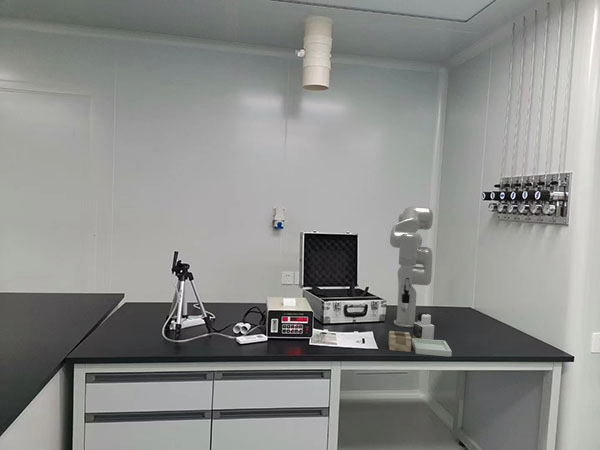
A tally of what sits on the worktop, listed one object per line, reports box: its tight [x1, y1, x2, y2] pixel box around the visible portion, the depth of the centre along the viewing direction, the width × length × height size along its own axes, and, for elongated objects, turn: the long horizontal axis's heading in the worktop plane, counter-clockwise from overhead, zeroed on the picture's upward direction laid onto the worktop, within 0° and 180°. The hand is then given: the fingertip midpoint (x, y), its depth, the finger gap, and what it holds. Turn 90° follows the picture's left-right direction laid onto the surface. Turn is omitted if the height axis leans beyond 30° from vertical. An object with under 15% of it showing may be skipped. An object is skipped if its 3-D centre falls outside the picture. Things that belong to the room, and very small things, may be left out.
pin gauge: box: [401, 286, 408, 312], centre depth 203 cm, size 3×3×12 cm
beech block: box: [388, 330, 412, 353], centre depth 204 cm, size 9×9×6 cm
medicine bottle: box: [412, 312, 435, 340], centre depth 220 cm, size 7×7×12 cm
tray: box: [411, 337, 453, 358], centre depth 203 cm, size 15×15×2 cm
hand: (405, 301), depth 203 cm, fingers closed on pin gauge, 3 cm apart
